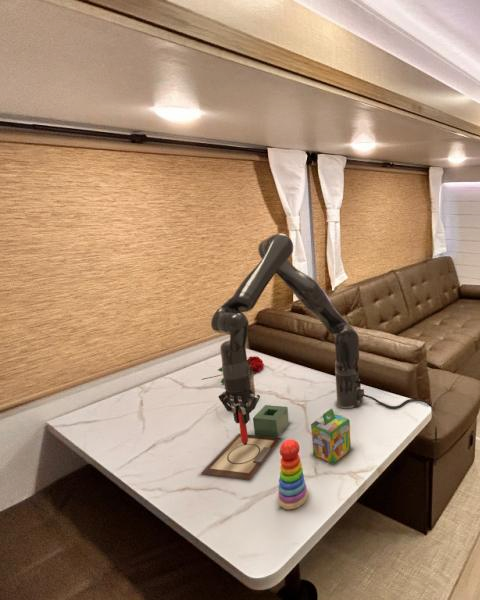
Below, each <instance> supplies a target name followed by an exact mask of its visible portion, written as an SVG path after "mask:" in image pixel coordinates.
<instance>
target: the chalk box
mask: <svg viewBox="0 0 480 600" xmlns="http://www.w3.org/2000/svg"><path fill="white" fill-rule="evenodd" d="M350 420H351V419H349V418H347V417H344V416H342V415H340V414H337V413H335V411H334V409H333V408H330V409H328V410H327V411H326V412H324V413H323V414H322V416H320V417H319V418H318V419H316V420H314V421H313V422H312V423H310V427H311V429H310V430H311V441H312V453H313V456H315V457H317V458H319V459H321V460H323V461H325V462H327V463H330V464H332V465H335V464H336V463H337V462H338V461H339V460H341V458H343V457H344V456H345V455H346V454H347V453H348V452H349V451H351V450H352V446H351V445H352V444H351V443H352V442H351V423H350Z"/></svg>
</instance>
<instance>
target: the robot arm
mask: <svg viewBox="0 0 480 600" xmlns="http://www.w3.org/2000/svg"><path fill="white" fill-rule="evenodd" d="M257 252H258V255H259V257H260V258H261V260H260V261H259V263H257V264H256V266H255V267H254V268H253V269H252V270H251V271H250V272H249V273H248V274H247V275H246V277H245V278H244V279H243V280H242V282H240V283H239V285H238V287H237V289H236V290H235V292H234V293H233V295H232V296H231V297H230V298H229V299H227V300H226V301H225V302H224V303H223V304H222V305H221V306H220V307H219V308H218V309H216V311H215V312H214V313H213V315H212V317H211V319H210V326H211V329H212V330H213V331H214V333H217V334H220V335H227V336H229V339H228V340H225V341H224V342H222V343H221V344H220V357H221V368H222V371H221V373H222V374H223V375H222V379H224V383H223V385H224V390H225V391H223V392H221V393H220V394H219V395H218V396H217V397H218V399H219V401H220V402H221V403H222V405H223V407H224V408H225V410H226V411H227V412H231V413H232V414H233V421H234V422H235V424H239V418H238V412H237V409H238V408H239V407H240V408H241V409H242V413H243V414H242V419H243V424H246V425H247V424H248V423H249V422H250V420H251V417H250V416H251V415H250V414H251V413H252V412H253V411H254V410H255V409H256V406H257V405H258V403H259V400H260V399H261V395H259V394H255V395H254V394H253V393H252V390H251V389H250V385H251V382H250V373H249V365H248V361H247V360H248V357H247V347H246V344H247V340H248V332H249V326H250V323H249V320H248V317H247V316H246V315H245V313H247V312H250V311H252V310H253V309H254V307H255V306H256V305H257V302H258V301H259V299H260V298H261V296H262V294H263V293H264V291H265V289H266V288H267V287H268V285H269V283H270V282H271V280H272V279H273V277H274V276H275V274H276V275H277V276H278V277H279V278H280V279H281V280H282V282H283V283H284V284H285V285H286V286H287V287H288V289H289V290H290V291H291V292H292V293H293V294H294V296H296V298H297V300H298V301H299V302H300V303H301V304H302V306H303V307H304V308H305V309H306V310H307V311H308V312H309V313H310V314H311V315H312V316H314V318H316V319H317V320H318V321H319V322H321V324H322V325H323V326H324V327H325V329H326V331H327V332H328V333H329V335H330V337H331V339H332V340H333V343H334V345H335V346H334V347H335V348H334V349H335V358H334V374H335V375H334V376H335V390H336V391H335V392H336V406H338V407H339V408H341V409H352V408H358V407H359V405H360V403H361V402H362V400H363V398H364V397H365V398H367V399H371V400H373V401H374V402H376V403H377V404H379V405H381V406H384V407H386V408H387V409H399V408H401V407H403V406H404V405H405V404H407V403H409V402H423V403H425V404H426V405H427V406H429V407H433V405H432V404H431V403H430V402H429V401H427V400H425V399H423V398H410V399H407V400H404V401H403V402H402V403H400V404H398V405H387V404H386V403H384V402H382V401H380V400H378V399H377V398H376V397H373V396H370V395H367V394H365V389H364V388H362V385H361V379H360V373H359V359H360V338H359V337H360V336H359V334H358V332H357V331H356V330H355V329H354V326H352V325H351V324H350V323H349V322H348V321H347V320H346V319H345V318H344V317H343V316H342V315H341V314H340V313H339V312H338V311H337V310H336V308H335V306H334V304H333V303H332V300H331V299H330V297H329V295H328V294H327V293H326V291H325V290H324V289H323V288H322V286H321V285H320V284H319V282H318V281H316V280H315V279H314V278H312V277H311V276H309V275H307V274H306V273H304V272H303V271H301V270H299V269H298V268H296V267H295V266H294V265H293V263H292V262H291V261H290V260H289V258H290V257H292V255H293V252H294V243H293V241H292V239H291V237H290V236H288V235H287V234H285V233H275V234H272V235H270V236H269V237H267V238H265V239H263V240H262V241H260V243H259V244H258V247H257ZM249 398H251V401H250V402H251V404H250V406H249ZM229 405H230V406H229ZM437 428H438V427H435V430H434V454H433V456H434V457H433V462H434V467H436V466H437V450H438V448H437V446H438V429H437Z"/></svg>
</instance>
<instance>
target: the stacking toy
mask: <svg viewBox="0 0 480 600" xmlns="http://www.w3.org/2000/svg"><path fill="white" fill-rule="evenodd" d="M299 453H300V444H299V442H298V441H297V440H296V439H293V438H290V439H289V438H288V439H285V440H284V441H283V442H282V443H281V445H280V447H279V454H280V456H281V457H280V468H279V469H280V472H279V478H278V493H277V495H278V496H277V502H278V504H279V506H280V507H281V508H283V509H284V510H285V509H286V510H294V509H297V508H299V507H301V506H302V505H304V503H305V502H306V501H307V500H308V496H309V494H308V487H307V483H306V479H305V474H304V469H303V465H302V463H303V462H302V461H301V457H300V455H299Z"/></svg>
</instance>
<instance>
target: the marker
mask: <svg viewBox="0 0 480 600" xmlns="http://www.w3.org/2000/svg"><path fill="white" fill-rule="evenodd" d="M237 412H238V418H239V423H238V425H239V431H240V433H239V434H241V441H242V443H243V445H246V444H247V442H248V435H249V434H248V427H247V424H243V419H242V414H243V413H242V409H241V408H240V407H239V408H238V409H237Z"/></svg>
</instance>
